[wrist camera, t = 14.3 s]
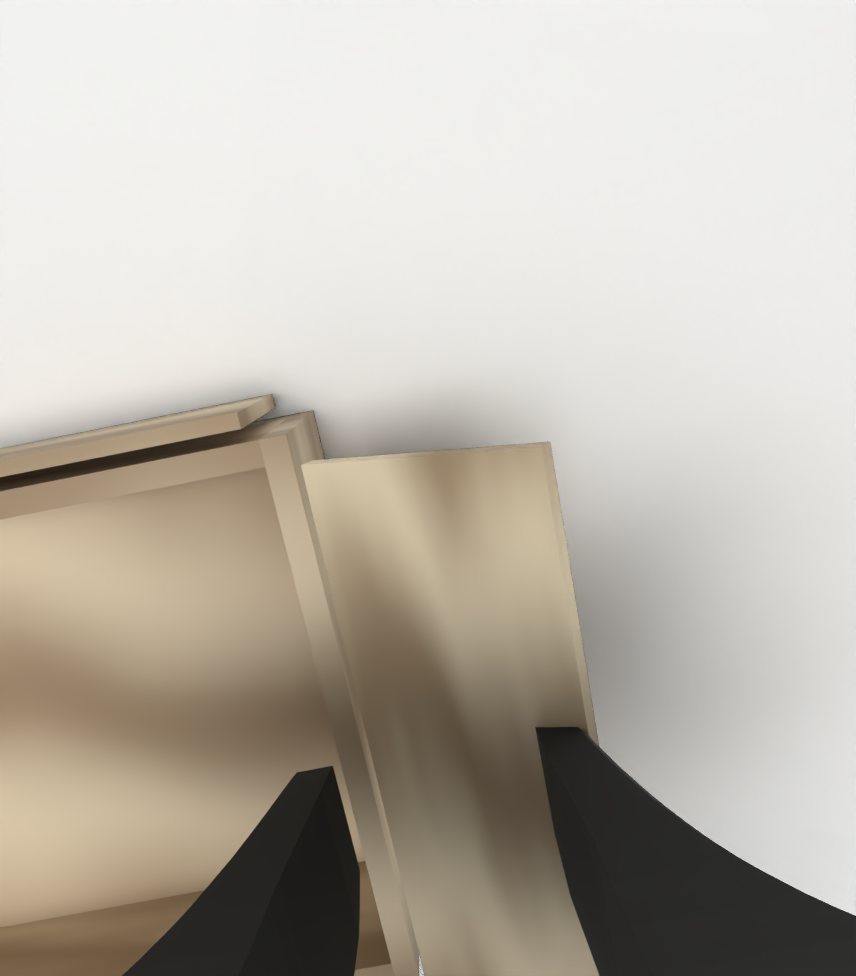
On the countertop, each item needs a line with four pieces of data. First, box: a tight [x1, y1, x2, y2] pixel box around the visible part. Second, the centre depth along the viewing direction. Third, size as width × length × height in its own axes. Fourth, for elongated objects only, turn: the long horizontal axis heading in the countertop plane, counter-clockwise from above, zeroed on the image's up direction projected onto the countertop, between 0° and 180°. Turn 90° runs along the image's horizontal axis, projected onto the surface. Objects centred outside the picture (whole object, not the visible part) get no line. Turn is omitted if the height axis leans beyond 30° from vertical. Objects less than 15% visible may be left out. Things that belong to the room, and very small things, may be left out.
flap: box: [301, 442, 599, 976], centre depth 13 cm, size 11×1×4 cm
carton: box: [0, 394, 419, 976], centre depth 16 cm, size 13×15×4 cm
